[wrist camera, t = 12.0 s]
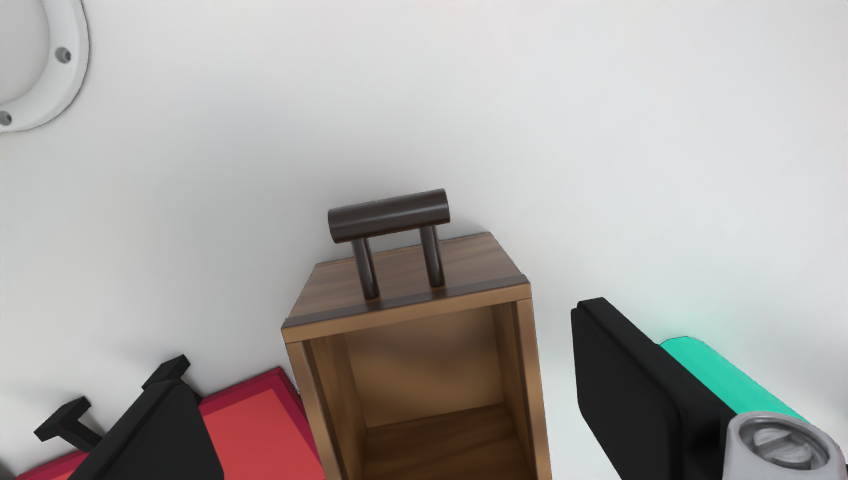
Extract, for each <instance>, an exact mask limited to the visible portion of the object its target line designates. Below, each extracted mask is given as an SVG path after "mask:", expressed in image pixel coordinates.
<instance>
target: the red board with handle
mask: <svg viewBox="0 0 848 480" xmlns="http://www.w3.org/2000/svg"><path fill="white" fill-rule="evenodd" d="M189 366H190V363H189V361H188V360H187V358H186V357H185V356H184V355H181V356H179V357H177V358H174V359H172V360H170V361H167V362H165V363H162V364H161V365H160V366H159V367H158V368H157V370H156V371H155V372H154V373H153V374H152V375H151V376H150V378H149V379H148V380H147V381H146V382H145V383H144V385H143V386H142V389H143V390H145V389H146V388H147V387H148V386H149V385H151V384H153V383H158V382H163V381H169V380H174V379H178V380H180V381H181V382H183V384H186V383H185V382H184V381H182V380H181V379H180V378H181V376H182V375H183V374H184V372H185V371H186V370H187V368H188V367H189ZM191 390H192V389H191ZM192 392H193V395H194V397H195V400H196V402H197V405H198V407H199V410H200V412H201V415H202V417H203V420H204V422H205V425H206V427H207V430H208V432H209V435H210V438H211V440H212V443H213V445H214V448H215V450H216V453H217V455H218V458H219V460H220V463H221V465H222V468H223V471H224V480H326V478H325V474H324V471H323V468H322V465H321V461H320V458H319V455H318V451H317V448H316V445H315V442H314V438H313V435H312V432H311V428H310V425H309V422H308V418H307V415H306V412H305V409H304V405H303V403H302V401H301V400H300V398H299V397H298V395H297V393H296V392H295V390H294V388H293V387H292V385H291V384H290V382H289V380H288V379H287V377H286V375H285V374H284V372H283V371H282V369H281V367H279V368H276V369H274V370H271V371H269V372H267V373H264V374H262V375H259V376H257V377H254V378H252V379H250V380H247V381H245V382H242V383H240V384H238V385H235V386H233V387H230V388H228V389H225V390H223V391H221V392H218V393H216V394H213V395H211V396H209V397H206V398H204V399H202V398H201V397H200V396H199V395H198V394H197V393H196V392H195V391H193V390H192ZM90 407H91V405H90V403H89V402H88V401H87V400H86V398H85V397H81V398H79V399H77V400H74V401H72V402H69V403H67V404H65V405H62V406H61V407H60V408H59V409H58V410H57V411H56V412H55V413H53V414H52V415H51V416H50V417H49V418H48V419H47V420H46V421H45V422H44V423H43V424H42V425H41V426H39V427H38V428H37V429H36V430H35V431H34V434H35V435H36V436H37V437H38V438H39V439H40V440H41V441H42V442H43V441H46V440H48V439H51V438H53V437H55V436H60V437H61V438H63V439H64V440H66V441H67V442H69V443H70V444H72V445H74V446H75V447H77V448H78V449H80V450H78V451H76V452H73V453H71V454H68V455H66V456H63V457H61V458H59V459H56V460H54V461H51V462H49V463H47V464H44V465H42V466H39V467H37V468H34V469H32V470H30V471H27V472H25V473H22V474H20V475H19V476H18V477H17V478H16V479H15V480H67V479H68V477H69V476H70V475H71V474H72V473H73V472H74V471H75V469H76V468H77V467H78V466H79V465H80V464H81V463H82V461H83V460H84V459H85V458H86V457H87V456H88V455H89V453H90V452H91V451H92V450H93V449H94V448H95V447H96V445H97V444H98V443H99V442H100V441H101V440H102V439H103V438H102V437H101V436H99V435H98V434H96V433H95V432H93V431H92V430H90V429H89V428H88V427H86V426H85V425H83V424H82V423H80V422H79V421H78V419H79V418H80V417H81V416H82V415H83V414H84V413H85V412H86V411H87V410H88V409H89V408H90Z"/></svg>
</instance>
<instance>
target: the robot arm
mask: <svg viewBox="0 0 848 480" xmlns="http://www.w3.org/2000/svg"><path fill="white" fill-rule="evenodd" d="M88 52H89V41H88V30H87V23H86V19H85V16H84V12H83V9H82V5H81V2H80V0H0V133H7V132H15V131H23V130H28V129H31V128H34V127H36V126H39V125H42V124H45V123H46V122H48V121H49V120H51V119H52V118H54V117H56V116H57V115H59V114H60V113H61V112H62V111H63V110H64V109H65V108H66V107H67V106H68V105H69V104H70V103H71V102H72V100H73V99H74V97H75V95H76V93H77V92H78V90H79V88H80V87H81V85H82V81H83V78H84V75H85V72H86V69H87V63H88ZM70 55H71V57H70ZM571 324H572V337H573V349H574V361H575V374H576V386H577V398H578V405H579V409H580V412H581V414H582V416H583V418H584V419H585V421H586V423H587V424H588V426H589V428H590V429H591V431H592V432H593V434H594V436H595V437H596V439H597V441H598V442H599V444H600V445H601V447H602V449H603V450H604V452H605V453H606V455H607V457H608V458H609V460H610V462H611V463H612V465H613V466H614V468H615V470H616V471H617V473H618V475H619V476H620V478H621V479H622V480H848V464H845V459H844V456H843V454H842V451H841V449H840V447H839V446H838V445H837V444H836V442H835V441H834V440H833V439H832V438H831V437H830V436H829V435H827V434H826V433H824V432H823V431H821V430H820V429H819V428H817V427H816V426H814V425H812V424H810V423H807V422H805V421H803V420H801V419H799V418H796V417H792V416H789V415H786V414H782V413H777V412H770V411H749V412H745V413H742V414H737V413H736V412H735V411H734V410H733V409H731V408H730V407H729V406H728V405H727V404H726V403H725V402H724V401H722V400H721V399H720V398H719V397H718V396H717V395H716V394H715V393H713V392H712V391H711V390H710V389H709V388H708V387H707V386H705V385H704V384H703V383H702V382H701V381H700V380H699V379H698V378H696V377H695V376H694V375H693V374H692V373H691V372H690V371H689V370H687V369H686V368H685V367H684V366H683V365H682V364H681V363H680V362H678V361H677V360H676V359H675V358H674V357H673V356H672V355H670V354H669V353H668V352H667V351H666V350H665V349H664V348H663V347H661V346H660V345H658V344H655V343H654V342H653V341H652V340H650V339H649V338H648V337H647V336H646V335H645V334H644V333H643V332H641V331H640V330H639V329H638V328H637V327H636V326H635V325H634V324H633V323H631V322H630V321H629V320H628V319H627V318H626V317H625V316H624V315H623V314H621V313H620V312H619V311H618V310H617V309H616V308H615V307H614V306H612V305H611V304H610V303H609V302H608V301H607V300H606V299H605V298H603V297H599V298H594V299H589V300H584V301H579V302H578V304H577V308H574V309H572V310H571ZM67 480H224V471H223V468H222V465H221V463H220V460H219V458H218V455H217V453H216V450H215V448H214V445H213V443H212V440H211V438H210V435H209V432H208V430H207V427H206V425H205V422H204V420H203V417H202V415H201V412H200V410H199V407H198V405H197V402H196V400H195V397H194V395H193V392H192V390H191V388H190V386H189V385H188V384H183V382H181V381H180V380H178V379H174V380H169V381H163V382H158V383H153V384H151V385H149V386H148V387H147V388H146V389H145V390H144V392H143V393H142V394H141V395H140V396H139V397H138V398H137V400H136V401H135V402H134V403H133V404H132V405H131V406H130V408H129V409H128V410H127V411H126V412H125V413H124V414H123V416H122V417H121V418H120V419H119V420H118V421H117V422H116V424H115V425H114V426H113V427H112V428H111V429H110V431H109V432H108V433H107V434H106V435H105V436H104V437H103V439H102V440H101V441H100V442H99V443H98V444H97V445H96V447H95V448H94V449H93V450H92V451H91V452H90V453H89V455H88V456H87V457H86V458H85V459H84V460H83V461H82V463H81V464H80V465H79V466H78V467H77V468H76V469H75V471H74V472H73V473H72V474H71V475H70V476H69V477H68V479H67Z"/></svg>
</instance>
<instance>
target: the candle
mask: <svg viewBox="0 0 848 480" xmlns="http://www.w3.org/2000/svg"><path fill="white" fill-rule="evenodd" d="M660 346H661V347H663V348H664V349H665V350H666V351H667V352H668V353H669V354H670V355H672V356H673V357H674V358H675V359H676V360H677V361H678V362H680V363H681V364H682V365H683V366H684V367H685V368H686V369H687V370H689V371H690V372H691V373H692V374H693V375H694V376H695V377H696V378H698V379H699V380H700V381H701V382H702V383H703V384H704V385H705V386H707V387H708V388H709V389H710V390H711V391H712V392H713V393H715V394H716V395H717V396H718V397H719V398H720V399H721V400H722V401H724V402H725V403H726V404H727V405H728V406H729V407H730V408H731V409H733V410H734V411H735V412H736V413H737V414H742V413H745V412H749V411H770V412H777V413H782V414H786V415H789V416H792V417H796V418H799V419H801V420H803V421H805V422H807V423H809V422H808V421H807V420H805V419H804V418H803V417H801V416H800V415H799V414H798V413H796V412H795V411H794V410H792V409H791V408H790V407H788V406H787V405H786V404H784V403H783V402H782V401H780V400H779V399H778V398H776V397H775V396H774V395H772V394H771V393H770V392H768V391H767V390H766V389H765V388H763V387H762V386H761V385H759V384H758V383H757V382H755V381H754V380H753V379H751V378H750V377H749V376H747V375H746V374H745V373H743V372H742V371H741V370H739V369H738V368H737V367H735V366H734V365H733V364H731V363H730V362H729V361H728V360H726V359H725V358H724V357H722V356H721V355H720V354H718V353H717V352H716V351H714V350H713V349H712V348H710V347H709V346H708V345H706V344H705V343H704V342H702V341H699V340H696V339H693V338H690V337H688V336H686V337H680V338H674V339H668V340H667V341H665V342H664V343H662V344H661V345H660ZM810 424H811V423H810Z"/></svg>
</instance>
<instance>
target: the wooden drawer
mask: <svg viewBox="0 0 848 480" xmlns="http://www.w3.org/2000/svg"><path fill="white" fill-rule="evenodd" d="M445 223H450V213H449V206H448V201H447V196H446V192H445V190H444V188H442V189H436V190H431V191H426V192H420V193H415V194H409V195H404V196H399V197H393V198H388V199H382V200H377V201H371V202H366V203H361V204H355V205H350V206H344V207H339V208H334V209H329V210H328V224H329V229H330V233H331V236H332V239H333V241H334V243H336V244H337V243H343V242H348V241H351V245H352V249H353V253H354V257H351V258H345V259H340V260H335V261H329V262H324V263H318V264H316V265H315V267H314V269H313V271H312V273H311V275H310V277H309V279H308V280H307V282H306V284H305V286H304V288H303V290H302V292H301V294H300V296H299V297H298V299H297V301H296V303H295V305H294V307H293V309H292V311H291V313H290V314H289V316H288V318H286V319H285V321H284V323H283V325H282V327H281V332H282V335H283V339H284V342H285V346H286V349H287V353H288V356H289V359H290V363H291V366H292V369H293V372H294V376H295V379H296V382H297V386H298V389H299V392H300V395H301V399H302V402H303V405H304V409H305V412H306V415H307V418H308V422H309V425H310V428H311V432H312V435H313V438H314V442H315V445H316V448H317V451H318V455H319V458H320V461H321V465H322V468H323V471H324V474H325V478H326V480H552V473H551V464H550V455H549V446H548V437H547V428H546V420H545V411H544V402H543V393H542V384H541V375H540V366H539V357H538V348H537V339H536V330H535V321H534V312H533V303H532V294H531V285H530V282H529V280H528V279H527V278H526V276H525V275H524V274H522V273H521V272H520V271H519V269H518V268H517V267H516V265H515V264H514V263H513V261H512V260H511V259H510V258H509V256H508V255H507V254H506V252H505V251H504V250H503V248H502V247H501V246H500V244H499V243H498V242H497V241H496V239H495V238H494V237H493V235H492V234H491V233H490V232H486V233H480V234H475V235H469V236H464V237H459V238H453V239H448V240H443V241H438V235H437V230H436V225H440V224H445ZM418 228H419V232H420V238H421V243H422V244H421V245H416V246H410V247H405V248H399V249H394V250H389V251H383V252H378V253H372V254H371V250H370V246H369V241H368V238H370V237H375V236H381V235H386V234H391V233H397V232H402V231H408V230H413V229H418Z"/></svg>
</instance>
